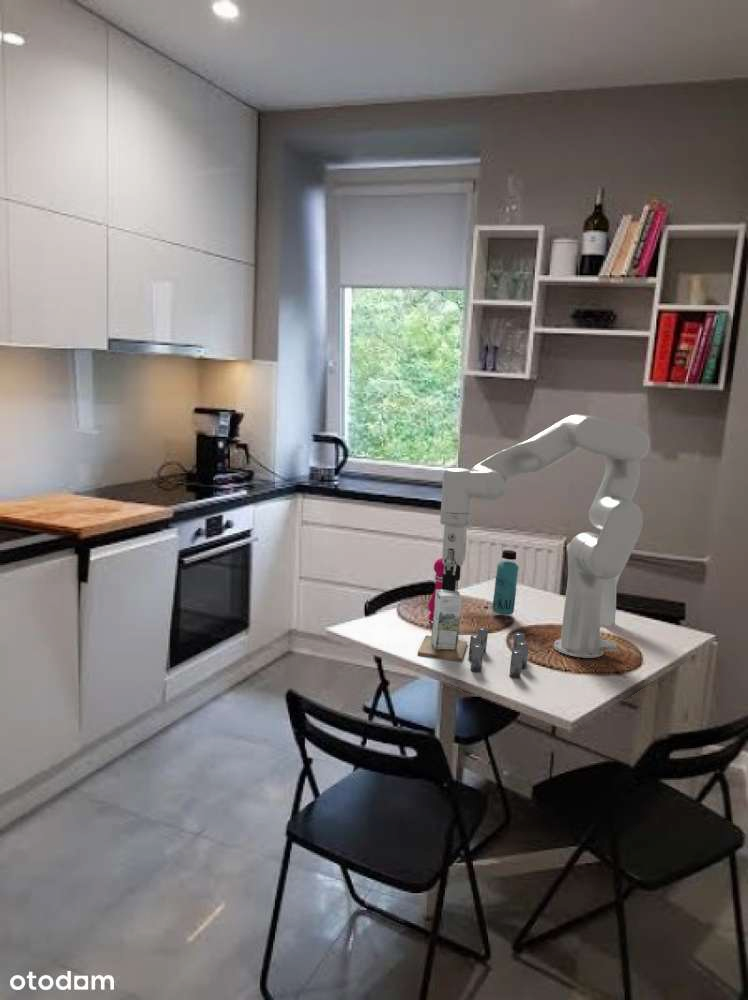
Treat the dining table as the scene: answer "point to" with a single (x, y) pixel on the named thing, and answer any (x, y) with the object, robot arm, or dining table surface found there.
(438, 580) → the pepper mill
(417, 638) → the dining table surface
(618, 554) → the robot arm
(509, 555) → the beverage bottle
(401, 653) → the dining table surface
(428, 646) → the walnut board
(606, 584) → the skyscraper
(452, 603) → the syrup box
